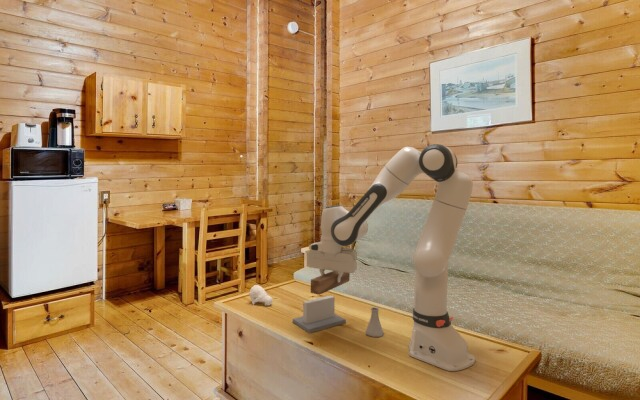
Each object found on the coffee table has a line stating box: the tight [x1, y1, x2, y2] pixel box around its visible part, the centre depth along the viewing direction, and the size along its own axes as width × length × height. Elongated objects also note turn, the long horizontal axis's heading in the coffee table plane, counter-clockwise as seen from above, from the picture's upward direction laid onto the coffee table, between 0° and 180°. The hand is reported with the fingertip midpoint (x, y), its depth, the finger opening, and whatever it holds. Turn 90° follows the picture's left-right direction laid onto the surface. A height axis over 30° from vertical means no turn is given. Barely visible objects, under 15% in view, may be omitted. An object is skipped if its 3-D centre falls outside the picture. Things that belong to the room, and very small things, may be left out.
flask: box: [365, 306, 385, 338], centre depth 149 cm, size 7×7×10 cm
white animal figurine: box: [248, 284, 274, 307], centre depth 183 cm, size 6×8×12 cm
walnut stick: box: [310, 270, 351, 296], centre depth 151 cm, size 4×22×5 cm, turn 146°
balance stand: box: [292, 295, 347, 334], centre depth 160 cm, size 13×18×10 cm
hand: (331, 281), depth 152 cm, fingers closed on walnut stick, 4 cm apart
